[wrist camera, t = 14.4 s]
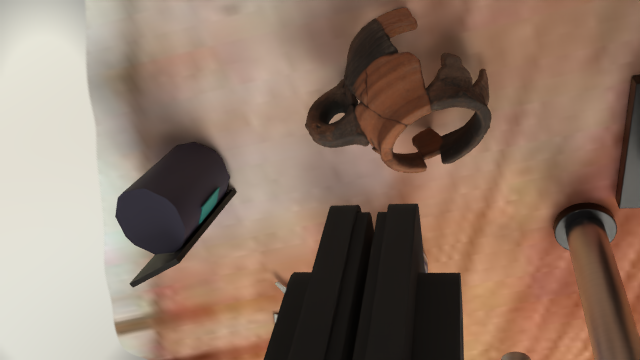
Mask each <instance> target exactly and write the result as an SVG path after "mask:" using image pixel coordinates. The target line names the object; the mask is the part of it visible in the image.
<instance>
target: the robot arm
mask: <svg viewBox="0 0 640 360" xmlns="http://www.w3.org/2000/svg"><path fill="white" fill-rule="evenodd" d="M264 360H464V346H463V312H462V292H461V276H460V273H425V264H424V254H423V244H422V235H421V225H420V215H419V207H418V204H389V205H388V210H387V212H378V214H377V219H376V225H375V230H374V228H373V222H372V216H371V213H370V212H362V211H361V208H360V206H359V205H343V206H331V207H330V209H329V212H328V216H327V219H326V223H325V226H324V230H323V234H322V237H321V241H320V244H319V248H318V252H317V255H316V259H315V262H314V266H313V270H312V272H294V273H293V274H292V275H291V277H290V279H289V282H288V285H287V288H286V291H285V294H284V297H283V300H282V304H281V307H280V310H279V313H278V316H277V319H276V323H275V326H274V329H273V332H272V335H271V338H270V341H269V345H268V348H267V351H266V354H265V357H264Z"/></svg>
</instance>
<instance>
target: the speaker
mask: <svg viewBox="0 0 640 360" xmlns="http://www.w3.org/2000/svg"><path fill="white" fill-rule="evenodd" d="M229 179H230V176H229V174H228V172H227V169H226V167H225V164H224V162H223V159H222V158H221V157H220V156H219V155H218V154H217V153H216V152H215V151H214V150H212V149H210V148H207V147H205V146H203V145H201V144H198V143H196V142H192V143H187V144H182V145H177V146H176V147H175V148H173V149H172V150H171V151H170V152H169V153H168V154H167V155H165V156H164V157H163V158H162V159H161V160H160V161H159V162H157V163H156V164H155V165H154V166H153V167H152V168H151V169H149V170H148V171H147V172H146V173H145V174H144V175H143V176H141V177H140V178H139V179H138V180H137V181H136V182H135V183H133V184H132V185H131V186H130V187H129V188H128V189H127V190H125V191H124V192H123V193H122V194H121V195H120V196H119V197H118V201H117V208H116V216H115V217H116V219H117V221H118V223H119V225H120V226H121V228H122V230H123V232H124V234H125V236H126V237H127V238H128V239H129V240H130V241H131V242H132V243H133V244H134V245H136V246H138V247H140V248H142V249H144V250H147V251H149V252H151V253H153V254H155V256H154V257H153V258H152V259H151V260H150V261H149V262H148V263H147V265H146V266H145V267H144V268H143V269H142V270H141V271H140V272H139V274H138V275H137V276H136V277H135V278H134V279H133V280H132V281H131V283H130V285H131V286H132V287H135V286H137V285H139V284H141V283H143V282H145V281H146V280H148V279H150V278H152V277H154V276H156V275H158V274H160V273H162V272H163V271H165V270H167V269H169V268H171V267H173V266H175V265H177V264H179V263H180V262H181V260H182V259H183V258H184V257H185V255H186V254H187V253H188V252H189V250H190V249H191V248H192V247H193V245H194V244H195V243H196V242H197V241H198V239H199V238H200V237H201V236H202V234H203V233H204V232H205V231H206V229H207V228H208V227H209V226H210V225H211V223H212V222H213V221H214V220H215V218H216V217H217V216H218V215H219V213H220V212H221V211H222V210H223V208H224V207H225V206H226V205H227V204H228V202H229V201H230V200H231V199H232V197H233V196H234V195H235V194H236V190H235V189H232V190H230V191H229V192H227V193H226V191H227V187H228V183H229Z"/></svg>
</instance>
